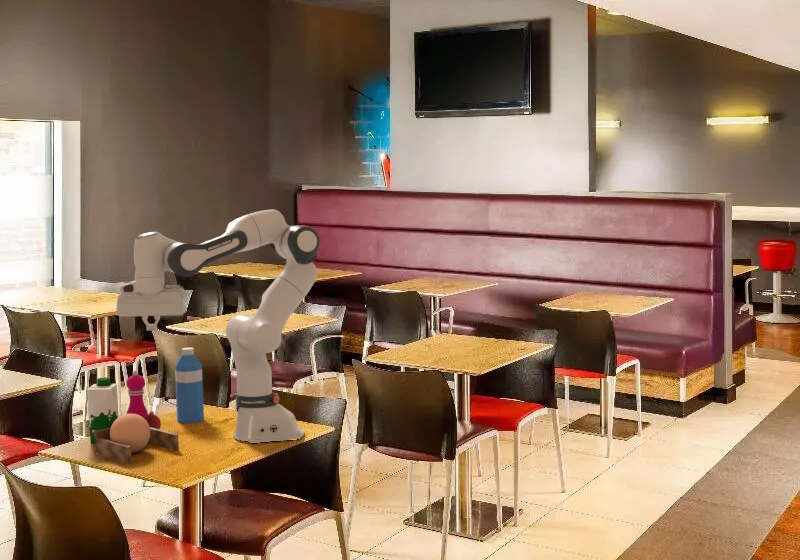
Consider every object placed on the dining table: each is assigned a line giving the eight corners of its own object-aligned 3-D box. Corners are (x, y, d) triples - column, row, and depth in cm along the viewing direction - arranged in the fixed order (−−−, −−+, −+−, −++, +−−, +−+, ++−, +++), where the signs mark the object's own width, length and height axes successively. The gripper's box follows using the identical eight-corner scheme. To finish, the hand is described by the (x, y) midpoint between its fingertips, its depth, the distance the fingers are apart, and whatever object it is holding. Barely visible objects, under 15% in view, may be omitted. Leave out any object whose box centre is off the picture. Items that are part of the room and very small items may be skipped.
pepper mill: (137, 433, 341) (134, 373, 339) (121, 430, 345) (119, 371, 343) (153, 428, 347) (151, 369, 345) (138, 426, 351) (135, 367, 349)
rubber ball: (152, 411, 325) (144, 448, 326) (113, 406, 321) (105, 443, 322) (155, 422, 314) (147, 460, 315) (114, 417, 310) (107, 455, 311)
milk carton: (122, 437, 336) (119, 377, 334) (114, 445, 327) (111, 382, 325) (94, 438, 336) (91, 377, 334) (86, 445, 327) (83, 383, 325)
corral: (178, 450, 320) (177, 427, 320) (128, 463, 307) (127, 440, 306) (145, 441, 332) (144, 419, 331) (95, 453, 318) (93, 431, 317)
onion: (156, 438, 335) (155, 413, 334) (139, 437, 336) (138, 413, 336) (164, 433, 341) (163, 409, 340) (147, 432, 342) (146, 408, 341)
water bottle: (195, 415, 365) (192, 345, 362) (209, 419, 358) (206, 348, 355) (171, 420, 358) (168, 348, 356) (185, 424, 352) (182, 352, 349)
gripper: (185, 283, 321) (187, 327, 323) (118, 285, 320) (120, 329, 321) (183, 285, 315) (184, 331, 317) (114, 287, 313) (116, 332, 315)
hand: (151, 330), depth 319 cm, fingers closed
